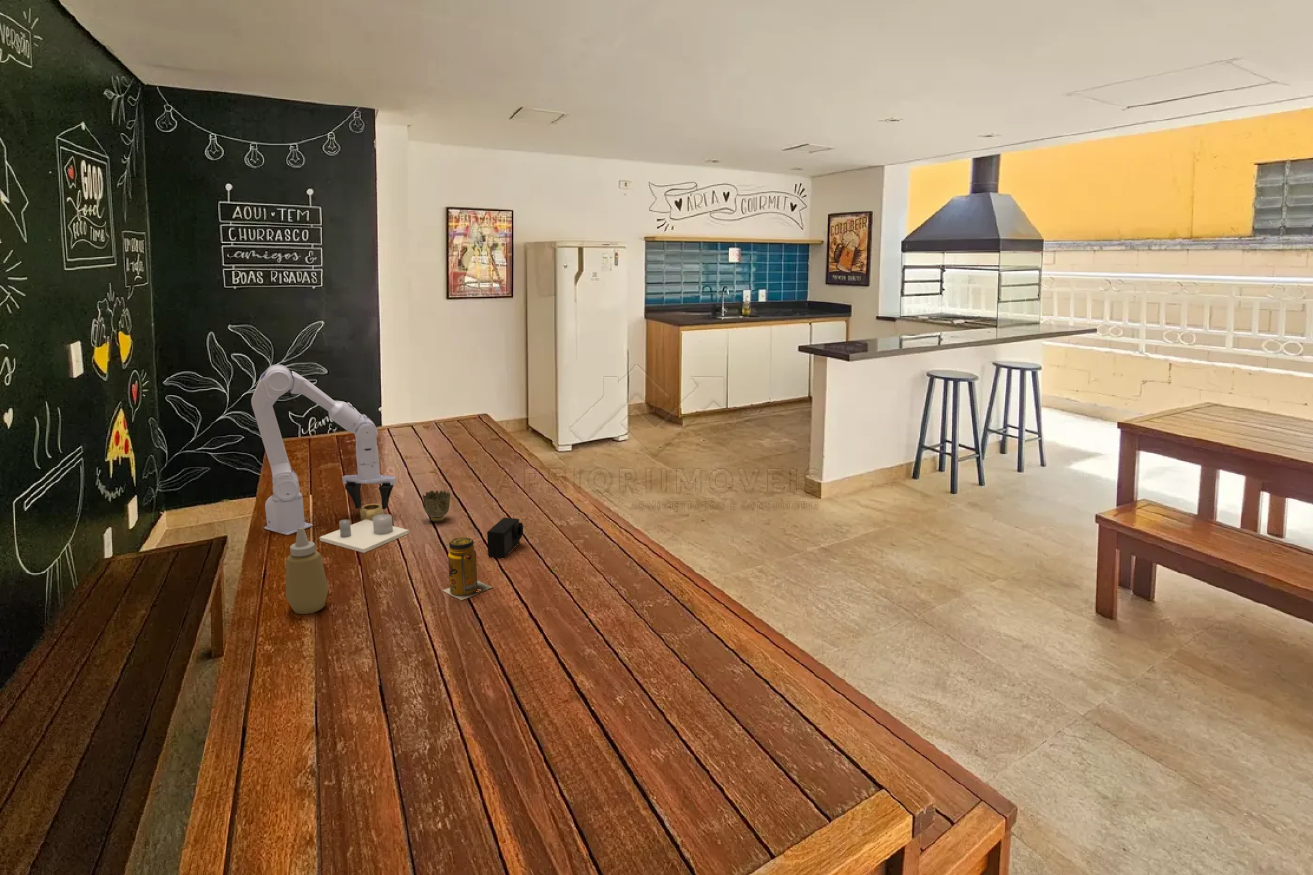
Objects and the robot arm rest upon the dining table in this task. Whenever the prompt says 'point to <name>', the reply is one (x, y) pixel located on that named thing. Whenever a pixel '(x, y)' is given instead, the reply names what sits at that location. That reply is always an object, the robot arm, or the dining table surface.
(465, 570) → the condiment
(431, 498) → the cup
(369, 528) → the stub board
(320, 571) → the squeeze bottle
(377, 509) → the ring
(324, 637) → the dining table surface
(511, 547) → the digital camera
